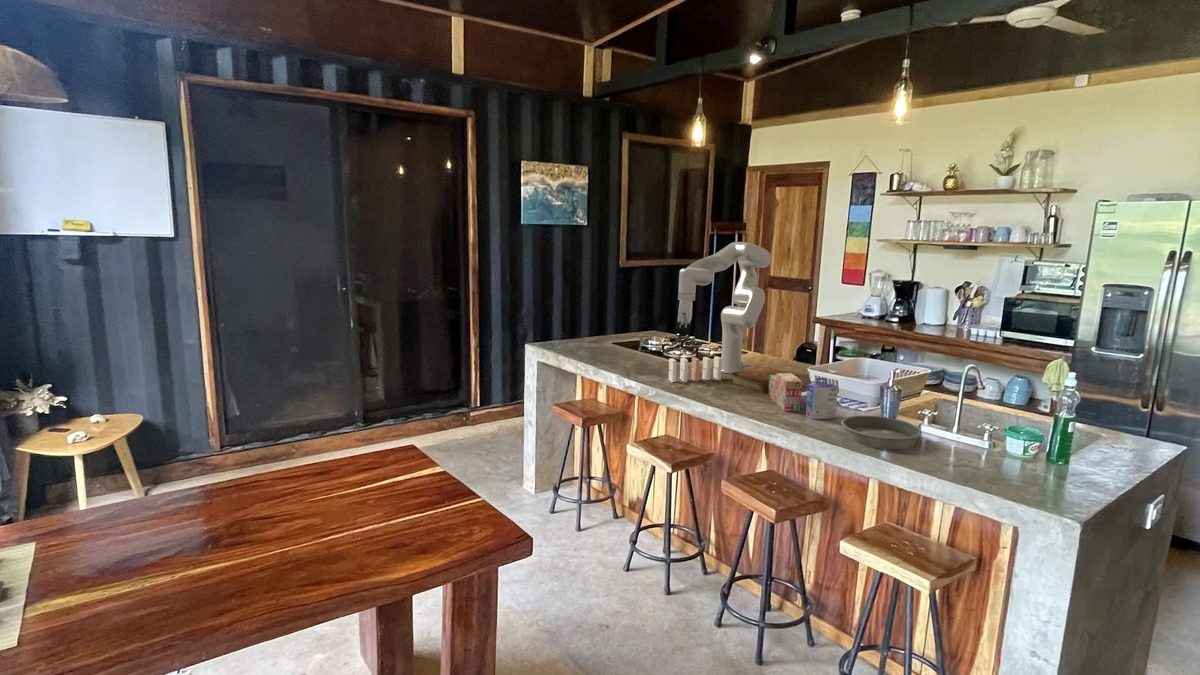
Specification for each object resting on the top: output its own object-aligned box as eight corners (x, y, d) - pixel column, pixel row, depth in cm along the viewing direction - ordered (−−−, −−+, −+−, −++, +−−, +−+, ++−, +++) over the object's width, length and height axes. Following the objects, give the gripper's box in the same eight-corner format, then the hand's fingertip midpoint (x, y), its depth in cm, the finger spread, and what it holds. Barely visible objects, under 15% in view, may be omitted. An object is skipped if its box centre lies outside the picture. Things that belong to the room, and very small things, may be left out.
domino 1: (683, 379, 287) (683, 357, 285) (687, 381, 282) (688, 360, 280) (679, 379, 287) (680, 358, 285) (683, 382, 282) (684, 360, 280)
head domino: (671, 379, 286) (672, 358, 284) (675, 382, 281) (676, 360, 279) (668, 380, 285) (669, 358, 283) (672, 382, 280) (673, 360, 279)
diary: (762, 394, 264) (763, 381, 263) (730, 385, 280) (731, 372, 279) (799, 387, 277) (799, 374, 276) (766, 378, 292) (767, 366, 291)
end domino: (716, 377, 291) (717, 356, 289) (721, 380, 286) (722, 358, 284) (713, 377, 291) (714, 356, 289) (717, 380, 286) (718, 358, 284)
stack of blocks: (767, 396, 260) (769, 367, 257) (782, 396, 260) (784, 367, 258) (784, 412, 239) (786, 380, 236) (800, 412, 239) (802, 380, 237)
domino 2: (705, 378, 290) (706, 356, 288) (710, 380, 285) (710, 359, 283) (702, 378, 289) (703, 357, 287) (706, 380, 284) (707, 359, 283)
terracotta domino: (694, 378, 288) (695, 357, 286) (698, 381, 284) (699, 359, 282) (691, 378, 288) (691, 357, 286) (695, 381, 283) (696, 359, 281)
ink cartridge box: (828, 414, 236) (831, 376, 233) (836, 418, 231) (839, 380, 228) (804, 415, 234) (807, 377, 232) (811, 419, 229) (814, 381, 226)
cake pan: (934, 440, 208) (935, 427, 207) (898, 457, 193) (899, 443, 192) (863, 422, 227) (864, 410, 226) (826, 436, 212) (827, 423, 211)
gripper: (681, 294, 287) (679, 331, 289) (674, 297, 270) (672, 337, 273) (698, 295, 285) (695, 332, 287) (692, 298, 268) (689, 338, 271)
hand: (684, 334), depth 280 cm, fingers open, 9 cm apart
